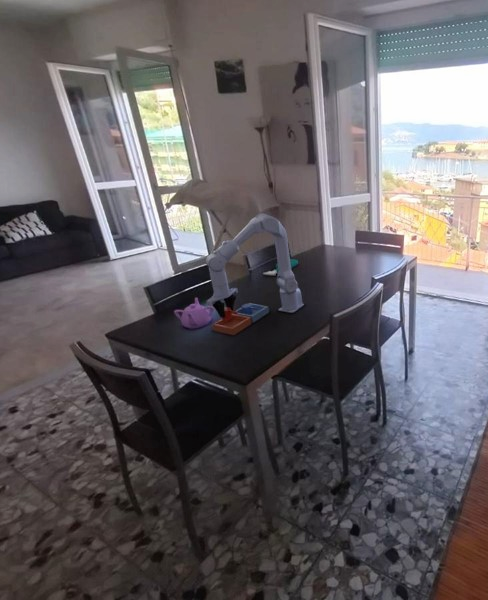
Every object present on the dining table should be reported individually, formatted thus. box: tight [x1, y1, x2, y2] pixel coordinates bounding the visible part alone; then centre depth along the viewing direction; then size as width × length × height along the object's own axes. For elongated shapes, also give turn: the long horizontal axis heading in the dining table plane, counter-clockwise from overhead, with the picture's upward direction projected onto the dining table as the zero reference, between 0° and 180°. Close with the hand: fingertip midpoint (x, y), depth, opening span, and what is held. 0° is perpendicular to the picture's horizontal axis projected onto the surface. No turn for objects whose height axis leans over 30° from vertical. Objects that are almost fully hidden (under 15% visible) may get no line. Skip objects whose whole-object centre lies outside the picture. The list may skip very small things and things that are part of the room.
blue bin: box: [232, 302, 270, 324], centre depth 157 cm, size 11×11×3 cm
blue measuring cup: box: [241, 303, 258, 315], centre depth 157 cm, size 8×4×4 cm, turn 68°
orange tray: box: [211, 313, 253, 336], centre depth 147 cm, size 11×11×3 cm
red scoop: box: [221, 306, 238, 320], centre depth 145 cm, size 8×4×4 cm, turn 68°
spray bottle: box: [262, 258, 299, 276], centre depth 213 cm, size 3×11×24 cm
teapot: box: [173, 297, 215, 330], centre depth 150 cm, size 12×14×9 cm
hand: (226, 314), depth 146 cm, fingers closed on red scoop, 4 cm apart
